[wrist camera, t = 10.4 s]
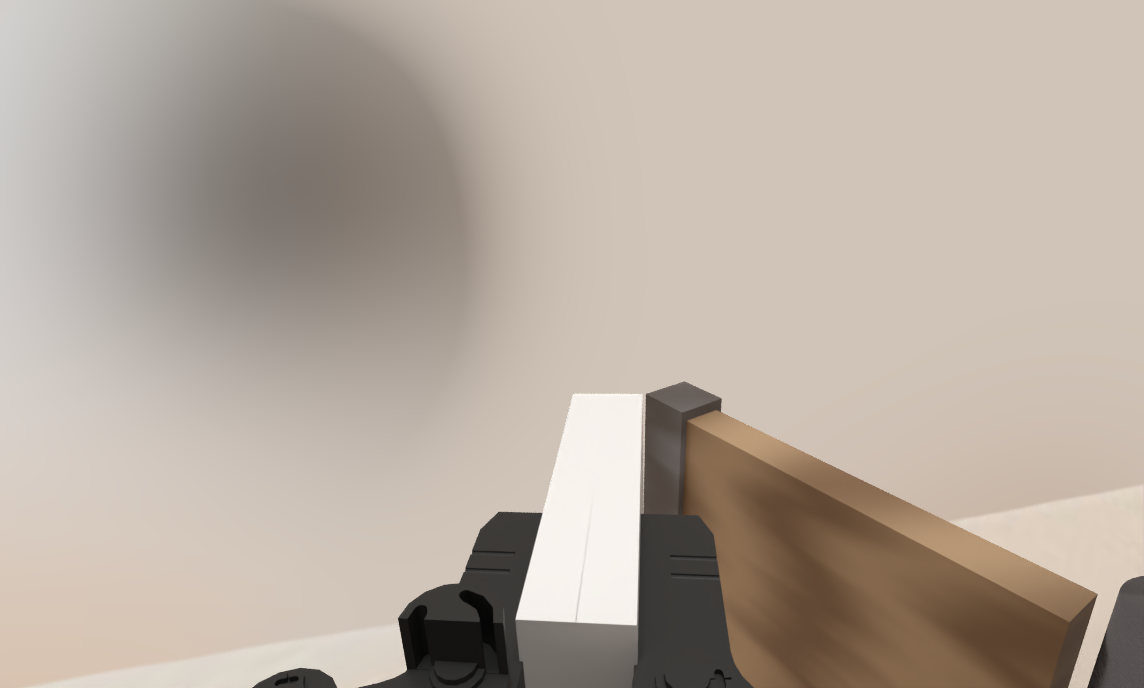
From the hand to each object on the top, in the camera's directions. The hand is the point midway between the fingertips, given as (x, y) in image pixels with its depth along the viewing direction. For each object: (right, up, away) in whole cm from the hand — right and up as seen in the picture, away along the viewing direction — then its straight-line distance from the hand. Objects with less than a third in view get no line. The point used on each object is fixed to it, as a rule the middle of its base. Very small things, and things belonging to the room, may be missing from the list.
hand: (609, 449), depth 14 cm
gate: (+7, -15, +11) cm, 19 cm away
